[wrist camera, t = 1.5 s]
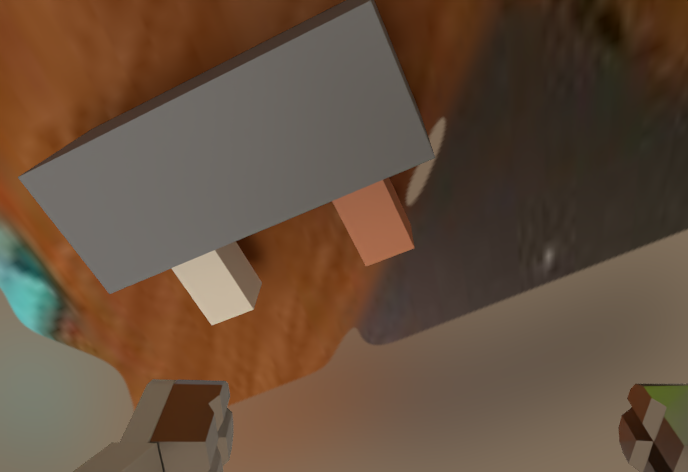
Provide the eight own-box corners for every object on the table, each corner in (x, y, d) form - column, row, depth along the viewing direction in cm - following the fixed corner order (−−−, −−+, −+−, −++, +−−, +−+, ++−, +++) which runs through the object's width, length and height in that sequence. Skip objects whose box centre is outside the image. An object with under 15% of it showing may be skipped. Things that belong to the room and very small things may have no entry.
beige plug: (261, 282, 48) (253, 309, 44) (222, 298, 48) (211, 325, 45) (197, 180, 43) (182, 200, 40) (155, 199, 44) (137, 220, 41)
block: (420, 112, 45) (435, 157, 35) (158, 227, 51) (109, 294, 41) (369, -12, 40) (370, 0, 31) (90, 129, 46) (17, 177, 37)
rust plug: (410, 224, 44) (414, 248, 41) (366, 241, 45) (366, 266, 42) (356, 107, 40) (356, 122, 37) (308, 129, 41) (303, 146, 37)
